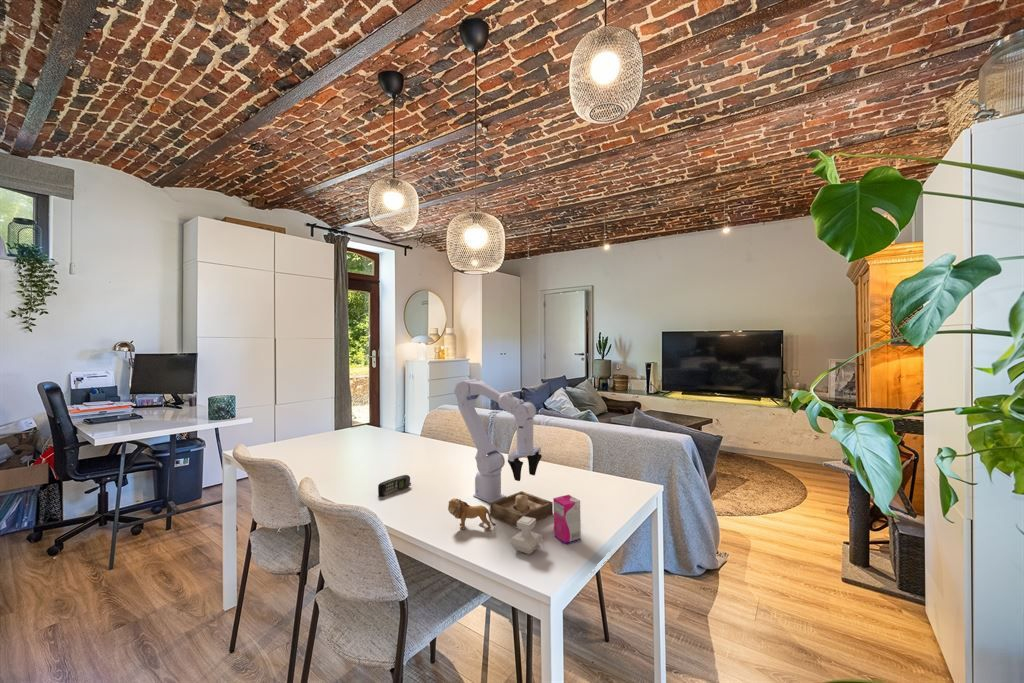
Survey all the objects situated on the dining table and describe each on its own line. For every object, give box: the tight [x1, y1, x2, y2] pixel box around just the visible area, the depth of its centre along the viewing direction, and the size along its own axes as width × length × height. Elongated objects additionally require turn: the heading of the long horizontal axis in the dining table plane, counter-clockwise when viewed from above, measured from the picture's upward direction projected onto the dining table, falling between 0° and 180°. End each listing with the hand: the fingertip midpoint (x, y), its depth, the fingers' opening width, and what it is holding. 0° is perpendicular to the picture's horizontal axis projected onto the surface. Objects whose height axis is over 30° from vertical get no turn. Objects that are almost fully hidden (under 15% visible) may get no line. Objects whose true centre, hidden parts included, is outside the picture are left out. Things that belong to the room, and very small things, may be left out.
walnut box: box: [489, 491, 554, 529], centre depth 134 cm, size 14×15×4 cm
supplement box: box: [552, 494, 582, 545], centre depth 119 cm, size 6×6×12 cm
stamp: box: [509, 516, 543, 555], centre depth 112 cm, size 9×7×8 cm
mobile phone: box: [377, 474, 412, 498], centre depth 156 cm, size 5×3×15 cm
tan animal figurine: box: [447, 498, 497, 531], centre depth 126 cm, size 15×5×9 cm, turn 94°
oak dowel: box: [516, 495, 528, 511], centre depth 134 cm, size 4×4×6 cm
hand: (524, 477), depth 141 cm, fingers open, 7 cm apart
